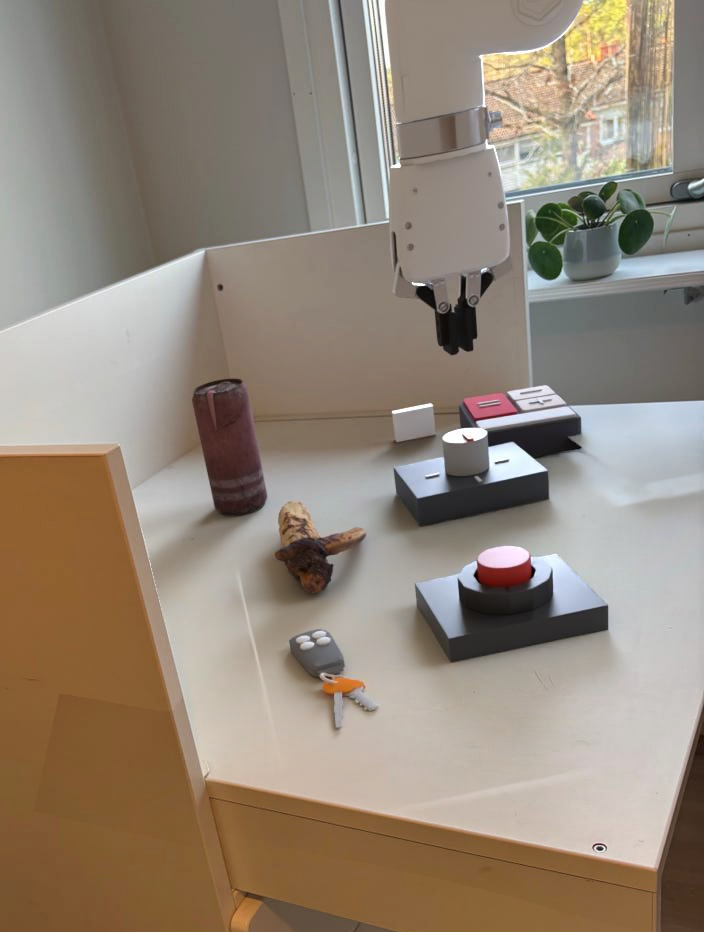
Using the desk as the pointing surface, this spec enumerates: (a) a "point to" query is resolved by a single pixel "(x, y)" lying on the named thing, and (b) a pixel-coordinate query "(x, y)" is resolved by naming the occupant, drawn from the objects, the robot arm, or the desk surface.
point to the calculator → (524, 420)
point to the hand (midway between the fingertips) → (458, 349)
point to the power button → (504, 566)
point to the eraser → (413, 422)
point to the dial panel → (471, 486)
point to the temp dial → (466, 451)
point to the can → (230, 446)
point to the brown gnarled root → (310, 547)
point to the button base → (510, 609)
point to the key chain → (329, 669)
